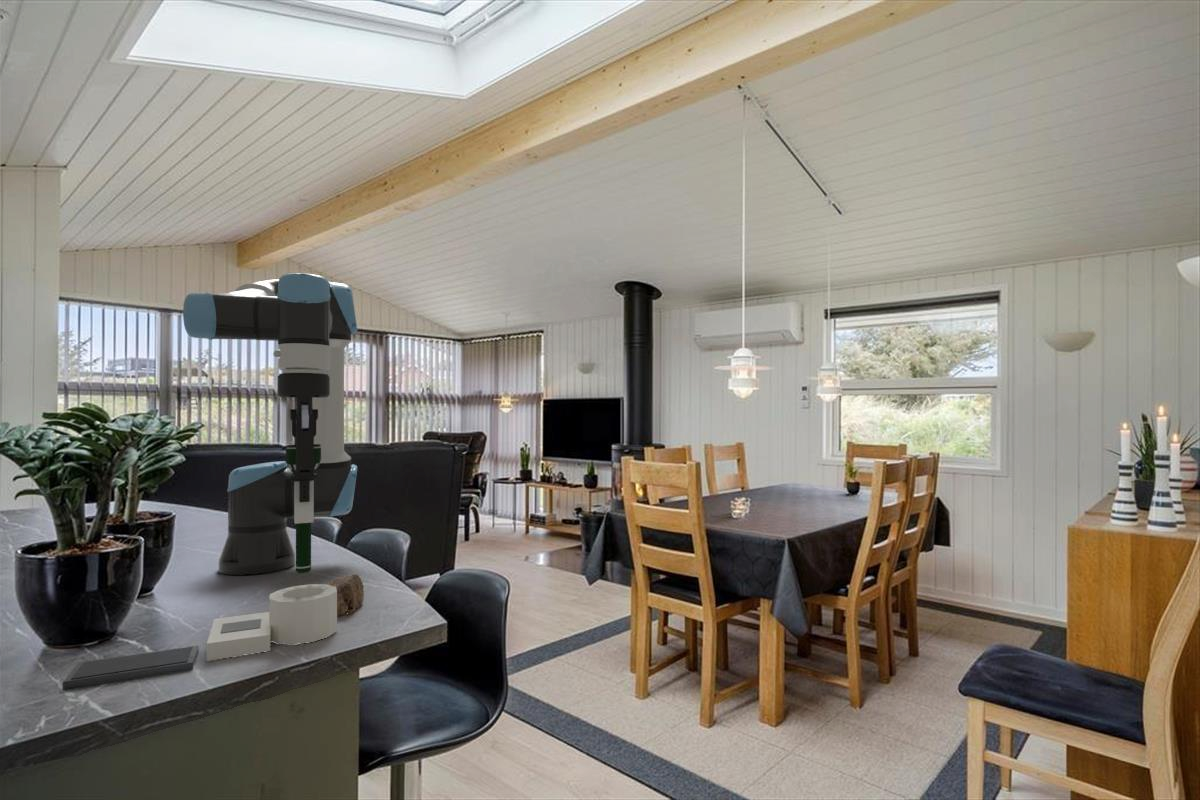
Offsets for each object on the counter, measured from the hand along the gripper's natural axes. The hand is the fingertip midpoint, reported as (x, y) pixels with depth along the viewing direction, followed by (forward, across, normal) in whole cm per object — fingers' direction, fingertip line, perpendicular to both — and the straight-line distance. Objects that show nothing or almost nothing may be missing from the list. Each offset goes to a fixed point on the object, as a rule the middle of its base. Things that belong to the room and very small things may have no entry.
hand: (303, 520), depth 102 cm
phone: (+18, +5, -21) cm, 28 cm away
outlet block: (+18, 0, -4) cm, 18 cm away
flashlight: (+8, 0, 0) cm, 8 cm away
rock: (+18, -15, +5) cm, 24 cm away
